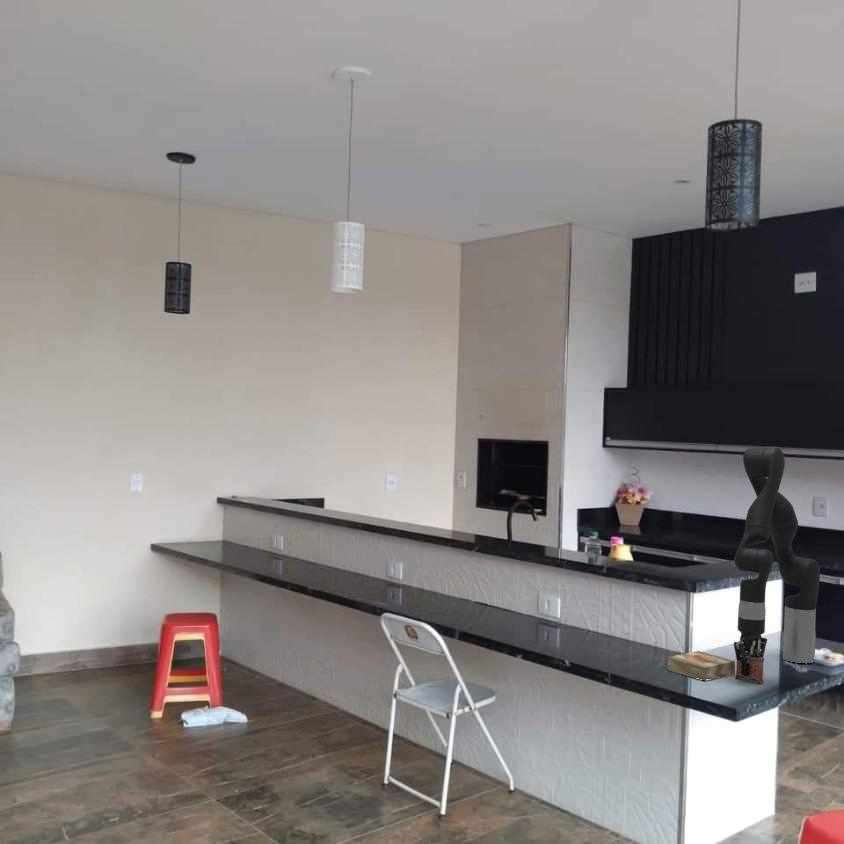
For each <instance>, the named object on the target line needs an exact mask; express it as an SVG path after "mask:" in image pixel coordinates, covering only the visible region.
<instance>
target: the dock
mask: <svg viewBox="0 0 844 844" xmlns="http://www.w3.org/2000/svg"><path fill="white" fill-rule="evenodd" d="M668 670H669V671H668ZM667 671H668V672H671V671H672V672H671V673H675V674H678V673H679V674H678V675H681V674H683V675H682V676H685V675H686V677H688V676H690V677H689V678H691V677H694V678H699V679H702V680H706V679H713V680H715V679H714V678H717V679H719V678H718V677H721V678H725V677H728V675H729V676H733V675H736V660H733V659H731V658H730V659H729V658H725V657H723V656H720V655H719V656H718V655H715V654H712V653H711V654H710V653H707V652H704V651H700V650H697V651H693V652H686V653H681V654H677V655H672V656H668V657H667ZM732 674H733V675H732ZM724 676H725V677H724ZM694 678H693V679H694Z"/></svg>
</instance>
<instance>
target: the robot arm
mask: <svg viewBox="0 0 844 844" xmlns="http://www.w3.org/2000/svg"><path fill="white" fill-rule="evenodd" d="M742 460H743V467H744V470H745V473H746V475H747V477H748V480H749V481H750V484H751V486H752V488H753V490H754V493H755V495H756V498H755V499H754V501H753V502H752V503H751V505H750V506H749V508H748V511H747V514H746V517H745V526H744V532H743V536H742V539H741V541H740V544H739V546H738V547H737V549H736V552H735V555H734V565H735V566H736V567H735V568H737V570H739V571H742V572H749V573H758V576H757V577H755V578H750V579H747V578H746V579H743V580H742V581H741V582H740V583H739V584H740V585H739V603H738V606H737V607H738V609H737V610H738V611H737V613H738V614H737V631H739V633H740V637H739V640H738V641H734V642H733V648H734V652H735V653H734V654H735V658H736V661H737V660H738V661H741V674H742V675H744V676H749V669H750V663H749V662H750V657H751V656H752V654H753V649H758V650H760V655H759V656H760V657H764V655H765V652H766V647H767V643H768V639H767V637H762V635H763V634H765V632H766V589H767V583H768V579H769V575H770V573H771V570H772V568H773V565H774V556H773V554H772V552H771V551H770V550H769V549H766V548H758V547H757V548H755V547H753V546H754V545H756V544H763V543H767V542H768V541H769V540H770V539H771V543H772V545H773V548H774V551H775V555H776V561H777V564H778V569H779V574H780V577H781V578H782V580H783V582H785V583H786V584H788V585H792V586H797V587H800V590H799V593H797V594H793V595H788V596H786V597H785V600H784V618H783V619H784V621H783V622H784V623H783V624H784V625H783V628H784V629H783V643H782V645H783V646H782V659H783V660H784V661H786V662H788V661H790V662H789V663H792V662H795V663H794V664H797V663H805V664H804V665H808V664H807V663H811V662H812V661H813V660H814V657H815V658H816V638H817V637H816V636H817V632H816V619H817V618H816V613H817V612H816V611H817V603H818V599H819V592H820V591H819V589H820V580H821V579H820V578H821V567H820V564H819V562H818V561H817V560H816V559H813V558H808V557H800V556H797V555H795V554H794V553H795V552H794V551H793V548H792V547H793V546H792V542H793V540H794V538H795V537H796V534H797V532H798V529H799V521H798V518H797V514H796V512H795V508H794V506H793V504H792V503H791V502H790V500H789V499H787V497H785V496H784V495H783V494H782V493H781V492H779V489H780V487H781V483H782V479H783V475H784V472H785V464H786V461H785V455H784V452H783V450H782V449H781V448H780V447H778V446H763V447H762V446H761V447H750V448H747V449H745V451H744V453H743V458H742ZM745 650H746V652H745ZM747 651H749V652H747ZM745 654H746V655H747V658H746V656H745ZM740 655H741V657H740ZM756 656H757V655H756Z"/></svg>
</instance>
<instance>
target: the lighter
mask: <svg viewBox="0 0 844 844" xmlns="http://www.w3.org/2000/svg"><path fill="white" fill-rule="evenodd" d="M760 650H761V649H760ZM760 650H758V649H753V654H752V656H751V657H750V662H749V663H750V669H749V676H744V675H742V674H741V661H738V660H737V659H736V664H735V674H734V675H735V678H736V679H735V678H734V679H735V680H737V679H739V680H738V681H741V680H742V681H741V682H744V681H745V683H749V684H753V685H754V684H755V685H764V662H765V657H764V656H763V657H760V656H759V655H760ZM745 652H749V651H746V650H745ZM756 655H757V656H756ZM745 656H746V658H747V655H746V654H745ZM740 657H741V655H740Z"/></svg>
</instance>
